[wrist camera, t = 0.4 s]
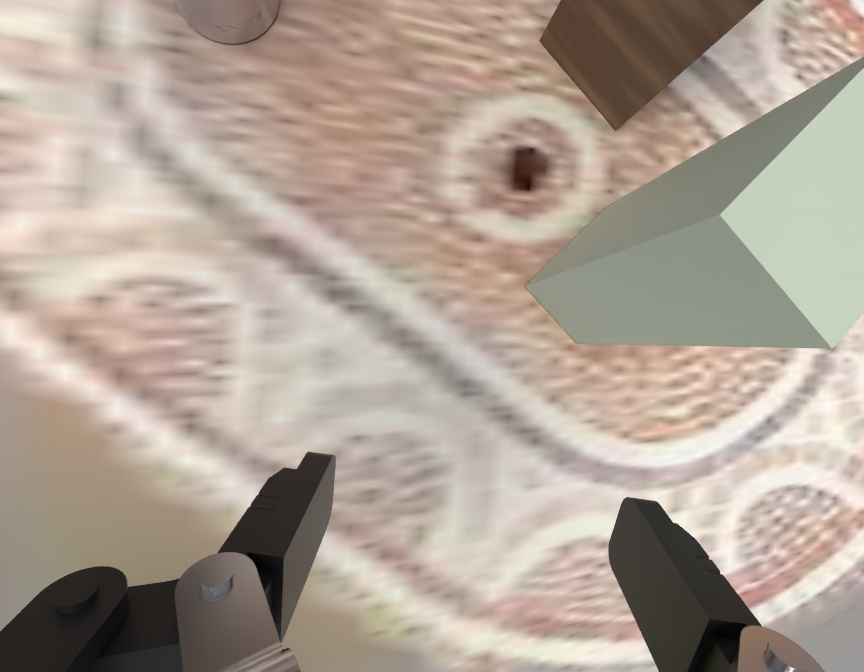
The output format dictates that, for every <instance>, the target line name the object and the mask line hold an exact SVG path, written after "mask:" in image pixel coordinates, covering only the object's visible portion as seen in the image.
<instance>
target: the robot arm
mask: <svg viewBox="0 0 864 672" xmlns="http://www.w3.org/2000/svg"><path fill="white" fill-rule="evenodd" d="M173 1H174V3H175V5H176V6H177V8H178V10H179V11H180V13H181V14H182V16H183V17H184V19H185V20H186V22H187V23H188V24H189V25H190V26H191V27H192V28H193V29H194V30H195V31H197V32H198V33H200V34H201V35H203V36H204V37H206V38H209V39H211V40H214V41H217V42H222V43H227V44H238V43H243V42H247V41H250V40H252V39H255V38H257V37H259V36H260V35H261V34H263V33H264V32H265V31H266V30H267V29H268V28H269V27H270V26H271V24H272V23H273V21H274V19H275V17H276V15H277V12H278V8H279V0H173ZM335 465H336V457H335V455H329V454H321V453H314V452H307V453H306V455H305V457H304V458H303V460H302V462H301V463H300V465H299V467H298V468H297V469H290V468H283V469H282V470H280V471H279V472H277V473H276V474H274V475H273V476H272V477H270V478H269V479H268V480H267V482H266V483H265V484H264V486H263V487H262V489H261V490H260V492H259V495H257V496H256V498H255V499H254V500H253V502H252V503H251V506H250V507H249V508H248V509H247V511H246V512H245V514H244V515H243V516H242V518H241V519H240V521H239V522H238V524H237V525H236V527H235V528H234V530H233V531H232V533H231V534H230V535H229V537H228V538H227V540H226V541H225V543H224V544H223V546H222V547H221V549H220V550H219V552H218V553H217V554H214V555H211V556H208V557H205V558H203V559H202V560H200V561H198V562H196V563H195V564H193V565H192V566H191V567H190V568H188V569H187V570H186V571H185V572H184V574H183V575H182V576H181V578H179V579H176V580H172V581H167V582H160V583H154V584H146V585H139V586H132V587H128V586H127V579H126V576H125V575H124V574H123V572H121V571H120V570H118V569H116V568H112V567H102V566H100V567H92V568H87V569H83V570H80V571H77V572H74V573H71V574H69V575H66V576H64V577H63V578H61V579H59V580H57V581H55V582H54V583H52V584H50V585H49V586H48V587H46V588H45V589H44V590H43V591H41V592H40V593H39V594H38V595H37V596H36V597H35V598H34V599H33V600H32V601H31V602H30V603H29V604H28V605H27V606H26V607H25V608H24V609H23V610H22V611H21V612H20V613H19V614H18V615H17V616H16V617H15V618H14V619H13V620H12V621H11V622H10V623H9V624H8V625H6V627H4V628H3V629H2V631H0V672H301V671H300V668H299V665H298V663H297V660H296V657H295V655H294V653H293V651H292V650H291V649H290V648H287V649H285V650H284V649H283V647H282V645H281V643H282V641H283V638H284V636H285V633H286V630H287V628H288V625H289V623H290V620H291V618H292V615H293V613H294V610H295V608H296V605H297V602H298V600H299V597H300V595H301V592H302V590H303V587H304V585H305V582H306V579H307V577H308V574H309V572H310V569H311V567H312V564H313V562H314V559H315V557H316V554H317V551H318V549H319V546H320V544H321V541H322V539H323V536H324V534H325V531H326V528H327V526H328V523H329V519H330V515H331V510H332V503H333V491H334V478H335ZM609 561H610V565H611V568H612V570H613V572H614V575H615V577H616V579H617V581H618V583H619V585H620V588H621V590H622V592H623V594H624V596H625V598H626V601H627V603H628V605H629V607H630V609H631V611H632V614H633V616H634V618H635V620H636V622H637V625H638V627H639V629H640V631H641V633H642V635H643V638H644V640H645V642H646V644H647V646H648V648H649V651H650V653H651V655H652V657H653V659H654V661H655V664H656V666H657V668H658V670H659V672H825V671H824V670H823V669H822V668H821V666H820V665H819V664H818V663H817V662H816V660H815V659H814V658H813V657H812V656H811V655H810V654H808V653H807V652H806V651H805V650H804V649H803V648H801V647H800V646H799V645H798V644H796V643H795V642H793V641H792V640H790V639H789V638H787V637H785V636H784V635H782V634H780V633H778V632H776V631H773V630H771V629H768V628H765V627H762V626H761V624H760V623H759V622H758V620H757V619H756V618H755V616H754V615H753V614H752V612H751V611H750V610H749V609H748V607H747V606H746V605H745V603H744V602H743V601H742V599H741V598H740V597H739V595H738V594H737V593H736V591H735V590H734V589H733V587H732V586H731V585H730V584H729V582H728V581H727V580H726V578H725V577H724V576H723V575H721V574H720V570H719V569H718V568H717V566H716V565H715V564H714V563H713V561H712V560H709V556H708V555H707V553H706V552H705V551H704V549H703V548H702V547H701V545H700V544H699V543H698V542H697V540H696V539H695V538H694V537H692V536H691V535H690V534H689V533H688V532H686V531H685V530H684V529H683V528H682V527H680V526H679V525H678V524H676V523H673V522H672V521H671V519H670V518H669V517H668V515H667V514H666V512H665V511H664V510H663V508H662V507H661V506H660V504H659V503H658V502H656V501H651V500H644V499H637V498H630V497H627V498H625V499H624V500H623V502H622V504H621V507H620V510H619V513H618V516H617V520H616V523H615V526H614V529H613V532H612V535H611V539H610V542H609Z"/></svg>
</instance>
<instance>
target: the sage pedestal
mask: <svg viewBox="0 0 864 672" xmlns="http://www.w3.org/2000/svg"><path fill="white" fill-rule="evenodd" d="M525 287H526V289H527V290H528V291H529V292H530V293H531V294H532V295H533V296H534V297H535V298H536V300H537V301H538V302H539V303H540V304H541V305H542V306H543V307H544V308H545V309H546V311H547V312H548V313H549V314H550V315H551V316H552V317H553V318H554V319H555V320H556V322H557V323H558V324H559V325H560V326H561V327H562V328H563V329H564V330H565V331H566V333H567V334H568V335H569V336H570V337H571V338H572V339H573V340H574V341H575V342H576V344H620V345H673V346H725V347H778V348H830V349H832V348H833V347H834V346H835V345H836V344H837V342H838V341H839V340H840V339H841V338H842V337H843V336H844V335H845V334H846V332H847V331H848V330H849V329H850V328H851V327H852V326H853V325H854V324H855V322H856V321H857V320H858V319H859V318H860V317H861V316H862V315H863V313H864V57H863V58H861V59H859V60H858V61H856V62H854V63H852V64H851V65H849V66H847V67H846V68H844V69H842V70H840V71H839V72H837V73H835V74H834V75H832V76H830V77H828V78H827V79H825V80H823V81H822V82H820V83H818V84H816V85H815V86H813V87H811V88H810V89H808V90H806V91H804V92H803V93H801V94H799V95H798V96H796V97H794V98H792V99H791V100H789V101H787V102H786V103H784V104H782V105H781V106H779V107H777V108H775V109H774V110H772V111H770V112H769V113H767V114H765V115H763V116H762V117H760V118H758V119H757V120H755V121H753V122H751V123H750V124H748V125H746V126H745V127H743V128H741V129H739V130H738V131H736V132H734V133H733V134H731V135H729V136H727V137H726V138H724V139H722V140H721V141H719V142H717V143H715V144H714V145H712V146H710V147H709V148H707V149H705V150H703V151H702V152H700V153H698V154H697V155H695V156H693V157H691V158H690V159H688V160H686V161H685V162H683V163H681V164H679V165H678V166H676V167H674V168H673V169H671V170H669V171H667V172H666V173H664V174H662V175H661V176H659V177H657V178H655V179H654V180H652V181H650V182H649V183H647V184H645V185H643V186H642V187H640V188H638V189H637V190H635V191H633V192H631V193H630V194H628V195H626V196H625V197H623V198H621V199H620V200H618V201H616V202H614V203H613V204H611V205H609V206H608V207H606V208H604V209H603V210H602V211H601V212H600V213H599V214H598V215H597V216H596V217H595V218H594V219H593V220H592V221H591V222H590V223H589V224H588V225H587V226H586V227H585V228H584V229H583V230H582V231H581V232H580V233H579V234H578V235H577V236H576V237H575V238H574V239H573V240H572V241H571V242H570V243H569V244H568V245H566V246H565V247H564V248H563V249H562V250H561V251H560V252H559V253H558V254H557V255H556V256H555V257H554V258H553V259H552V260H551V261H550V262H549V263H548V264H547V265H546V266H545V267H544V268H543V269H542V270H541V271H540V272H539V273H538V274H537V275H536V276H535V277H534V278H533V279H532V280H531V281H530V282H529V283H528V284H527V285H525Z"/></svg>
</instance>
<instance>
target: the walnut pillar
mask: <svg viewBox="0 0 864 672" xmlns="http://www.w3.org/2000/svg"><path fill="white" fill-rule="evenodd" d="M762 1H763V0H561V1H560V3H559V5H558V7H557V9H556V11H555V13H554V14H553V16H552V18H551V20H550V22H549V24H548V26H547V28H546V29H545V31H544V33H543V35H542V37H541V39H540V42H541V43H542V45H543V46H544V47H545V48H546V49H547V50H548V52H549V53H550V54H551V55H552V56H553V57H554V59H555V60H556V61H557V62H558V63H559V65H560V66H561V67H562V68H563V69H564V70H565V72H566V73H567V74H568V75H569V76H570V77H571V79H572V80H573V81H574V82H575V83H576V85H577V86H578V87H579V88H580V89H581V90H582V92H583V93H584V94H585V95H586V96H587V98H588V99H589V100H590V101H591V102H592V103H593V105H594V106H595V107H596V108H597V109H598V110H599V112H600V113H601V114H602V115H603V116H604V118H605V119H606V120H607V121H608V122H609V123H610V125H611V126H612V127H613V128H614V129H615V130H617V129H618V128H619V127H621V126H622V125H623V124H624V123H625V122H626V121H627V120H628V119H630V118H631V117H632V116H633V115H634V114H635V113H636V112H637V111H639V110H640V109H641V108H642V107H643V106H644V105H645V104H647V103H648V102H649V101H650V100H651V99H652V98H653V97H654V96H656V95H657V94H658V93H659V92H660V91H661V90H662V89H664V88H665V87H666V86H667V85H668V84H669V83H670V82H671V81H673V80H674V79H675V78H676V77H677V76H678V75H679V74H681V73H682V72H683V71H684V70H685V69H686V68H687V67H688V66H690V65H691V64H692V63H693V62H694V61H695V60H696V59H697V58H699V57H700V56H701V55H702V54H703V53H704V52H705V51H707V50H708V49H709V48H710V47H711V46H712V45H713V44H714V43H716V42H717V41H718V40H719V39H720V38H721V37H722V36H724V35H725V34H726V33H727V32H728V31H729V30H730V29H731V28H733V27H734V26H735V25H736V24H737V23H738V22H739V21H740V20H742V19H743V18H744V17H745V16H746V15H747V14H748V13H750V12H751V11H752V10H753V9H754V8H755V7H756V6H757V5H759V4H760V3H761V2H762Z"/></svg>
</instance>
